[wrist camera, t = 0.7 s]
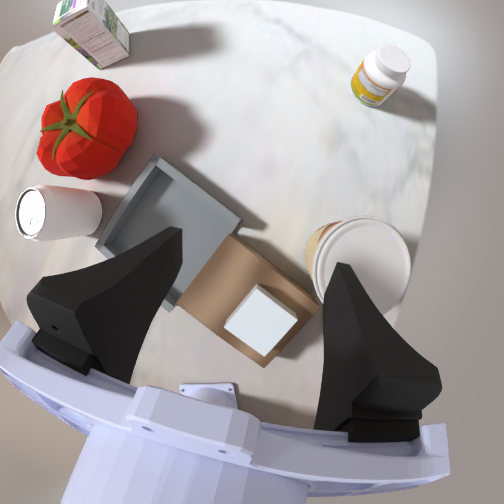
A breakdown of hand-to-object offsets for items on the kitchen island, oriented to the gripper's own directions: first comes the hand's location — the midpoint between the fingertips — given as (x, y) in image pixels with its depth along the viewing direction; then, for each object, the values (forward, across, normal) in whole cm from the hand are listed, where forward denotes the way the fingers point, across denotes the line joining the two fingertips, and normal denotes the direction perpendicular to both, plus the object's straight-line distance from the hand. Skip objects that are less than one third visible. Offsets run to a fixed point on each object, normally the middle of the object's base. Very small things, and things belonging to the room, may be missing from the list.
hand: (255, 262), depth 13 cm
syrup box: (+30, +29, -11) cm, 43 cm away
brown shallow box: (+15, +1, +17) cm, 23 cm away
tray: (+18, +12, +12) cm, 25 cm away
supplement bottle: (+31, -9, -9) cm, 33 cm away
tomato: (+23, +25, +2) cm, 34 cm away
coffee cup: (+19, -8, +11) cm, 24 cm away
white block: (+11, -1, +16) cm, 20 cm away
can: (+17, +26, +12) cm, 33 cm away
